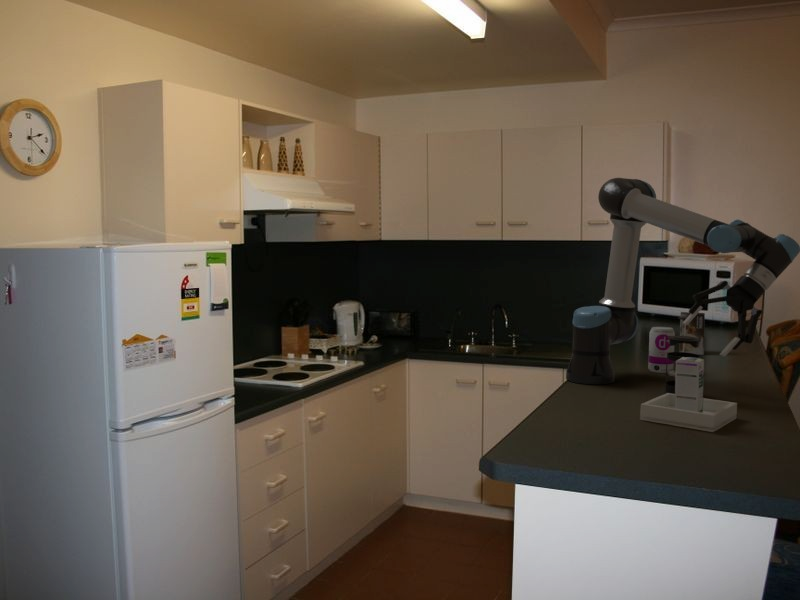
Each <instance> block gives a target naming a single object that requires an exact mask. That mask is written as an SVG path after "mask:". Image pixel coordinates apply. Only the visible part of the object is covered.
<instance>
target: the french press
mask: <svg viewBox="0 0 800 600" xmlns="http://www.w3.org/2000/svg"><path fill="white" fill-rule="evenodd" d="M686 318H687V317H681V316H680V317H679V316H678V317H677V319H678V320H680V319H682V320H684V321H685V319H686ZM692 320H693V319H692ZM685 330H686V325H684V336H680V335H675V336H669V337H668V339H669V345H671V346H674V347H675V346H676V345H678V344H680V343H683V352H679V351H674V352H669V353H667V362H666V373H665V381H664V383H665V385H664V391H663V395H664V394H666V393H671V394H675V380H667V379H668V378H667V377H672V378H675V376H676V370H673V371H668V372H667V364H668V359H669V360H672V361H674V362H676V361H677V360H679V359H681V358H682V357H692V358H700V357H701V355H697V354H693V353H687V352H684V346H685V344H690V345H691V346H693V347H695V348H697V347H699V341H701V339H699V338H696V337H690V336H685ZM700 359H701V358H700Z"/></svg>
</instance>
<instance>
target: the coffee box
mask: <svg viewBox="0 0 800 600" xmlns="http://www.w3.org/2000/svg"><path fill="white" fill-rule="evenodd" d="M689 315H690V313H689V311H687V312H685V311H684V312H683V311H680V317H688V316H689ZM705 316H706V313H705V312H699V313H698V314H697V315H696V316H695V317H694V318H693V320H691V322H690V323H689V324H688V325H686V330H685V336H690V337H696V338H699V339H701V341H699V347H697V348H695V347H693V346H691V345H690V344H685V346H684V352H687V353H693V354H697V355H699V356H704V355H705V325H706V323H705V321H706V320H705V319H706V318H705ZM679 320H680V321H679V323H680V324H679V336H684V324H683V322H684V320H682V319H679ZM678 352H683V343H679V350H678Z"/></svg>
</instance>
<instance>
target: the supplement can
mask: <svg viewBox="0 0 800 600" xmlns="http://www.w3.org/2000/svg"><path fill="white" fill-rule="evenodd" d="M648 336H649V339H648V341H649V342H648V363H647V366H648V367H647V368H648V370H649V371H650V372H651V373H656V374H666V362H667V353H669V352H675V345H674V346H671V345H669V339H668V337H669V336H676V332H675V330H674V328H673V327H669V326H652V327H651V329H650V331H649V335H648ZM674 363H675V361H672V360H669V359H668V364H667V372H668V371H674Z"/></svg>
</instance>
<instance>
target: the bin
mask: <svg viewBox="0 0 800 600" xmlns="http://www.w3.org/2000/svg"><path fill="white" fill-rule="evenodd" d="M737 411H738V402H731V401H725V400H719V399H711V398H705V397H703V413H701V412H694V411H688V410H682V409H675V394H671V393H666V394H664V393H663V394H662V395H659V396H657V397H654V398H652V399H649V400H648V401H647V400H646V401H644V402H642V403H640V411H639V413H640V415H639V421H646V422H651V423H658V424H662V425H663V424H664V425H669V426H675V427H682V428H687V429H692V430H698V431H704V432H710V433H715V432H716V431H718V430H719V429H722V428H723V427H725V426H726V425H728V424H729V423H731V422H732V421H735V420H736V419H737V413H738V412H737Z"/></svg>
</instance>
